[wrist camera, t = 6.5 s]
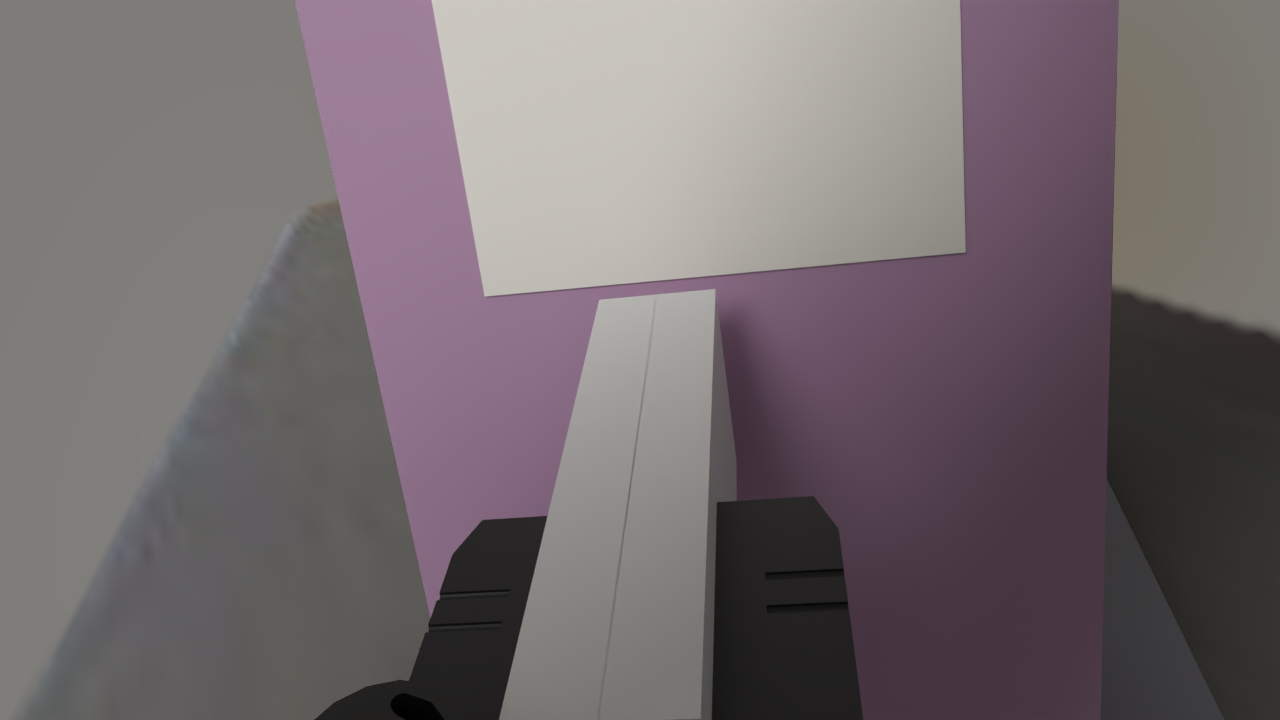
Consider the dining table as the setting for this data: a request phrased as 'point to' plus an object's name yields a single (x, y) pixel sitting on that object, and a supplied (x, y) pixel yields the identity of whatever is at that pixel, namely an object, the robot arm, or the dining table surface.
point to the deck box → (765, 284)
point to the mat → (1143, 639)
